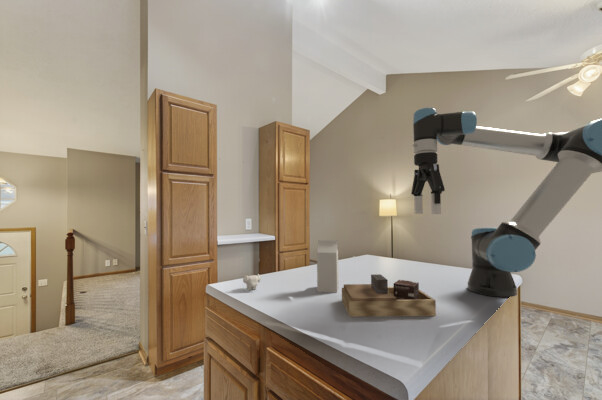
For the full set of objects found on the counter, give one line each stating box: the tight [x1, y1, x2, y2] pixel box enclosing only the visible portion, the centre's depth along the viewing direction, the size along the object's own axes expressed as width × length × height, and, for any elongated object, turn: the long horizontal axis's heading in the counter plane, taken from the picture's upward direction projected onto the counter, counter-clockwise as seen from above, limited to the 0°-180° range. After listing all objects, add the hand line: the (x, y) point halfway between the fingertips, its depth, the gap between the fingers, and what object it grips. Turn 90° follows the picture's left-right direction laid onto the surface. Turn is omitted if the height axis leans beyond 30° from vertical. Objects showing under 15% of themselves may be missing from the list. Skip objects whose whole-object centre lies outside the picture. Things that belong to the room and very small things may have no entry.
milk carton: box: [316, 239, 339, 293], centre depth 107 cm, size 7×7×19 cm
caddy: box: [341, 286, 437, 318], centre depth 87 cm, size 24×14×5 cm, turn 91°
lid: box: [343, 274, 396, 301], centre depth 87 cm, size 12×15×5 cm
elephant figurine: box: [242, 273, 261, 291], centre depth 111 cm, size 7×8×6 cm
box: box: [393, 279, 420, 300], centre depth 87 cm, size 6×6×7 cm
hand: (426, 213), depth 100 cm, fingers open, 13 cm apart
